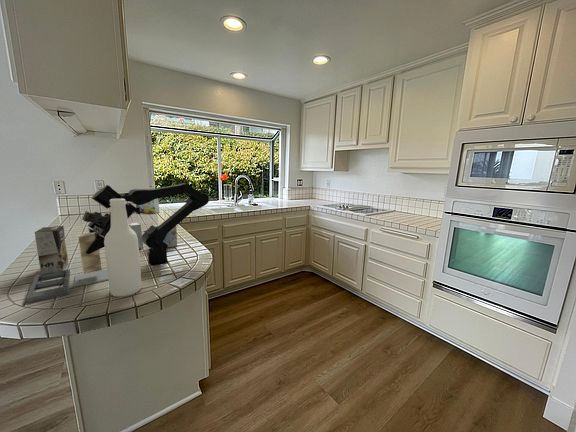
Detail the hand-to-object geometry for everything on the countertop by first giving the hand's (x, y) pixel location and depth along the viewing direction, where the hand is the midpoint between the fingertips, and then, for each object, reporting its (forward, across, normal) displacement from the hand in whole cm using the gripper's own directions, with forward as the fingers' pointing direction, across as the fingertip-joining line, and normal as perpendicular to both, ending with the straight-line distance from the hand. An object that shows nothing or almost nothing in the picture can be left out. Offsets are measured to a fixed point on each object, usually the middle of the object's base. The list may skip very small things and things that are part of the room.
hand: (85, 251), depth 87 cm
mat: (+6, 0, +8) cm, 10 cm away
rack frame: (+14, -1, 0) cm, 14 cm away
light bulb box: (-17, -20, +33) cm, 42 cm away
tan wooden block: (+4, 0, +6) cm, 7 cm away
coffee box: (+12, -20, +3) cm, 23 cm away
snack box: (-39, -129, +55) cm, 145 cm away
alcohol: (+3, +19, +12) cm, 23 cm away
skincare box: (-10, -27, +25) cm, 38 cm away
